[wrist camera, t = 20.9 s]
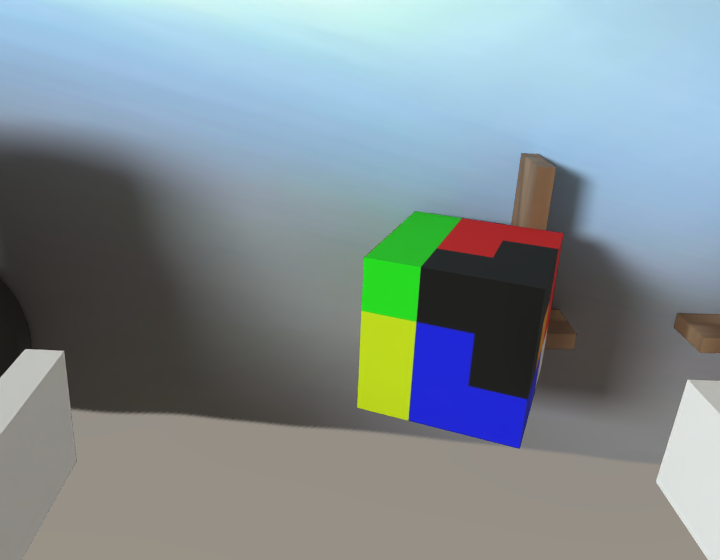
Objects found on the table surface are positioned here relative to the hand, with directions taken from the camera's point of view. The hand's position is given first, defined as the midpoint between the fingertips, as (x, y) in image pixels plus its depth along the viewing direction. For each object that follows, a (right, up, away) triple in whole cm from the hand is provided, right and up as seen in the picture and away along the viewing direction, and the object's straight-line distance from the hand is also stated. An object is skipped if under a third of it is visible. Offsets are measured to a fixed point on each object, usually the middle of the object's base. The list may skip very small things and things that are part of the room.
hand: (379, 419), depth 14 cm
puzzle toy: (+8, +2, +32) cm, 33 cm away
